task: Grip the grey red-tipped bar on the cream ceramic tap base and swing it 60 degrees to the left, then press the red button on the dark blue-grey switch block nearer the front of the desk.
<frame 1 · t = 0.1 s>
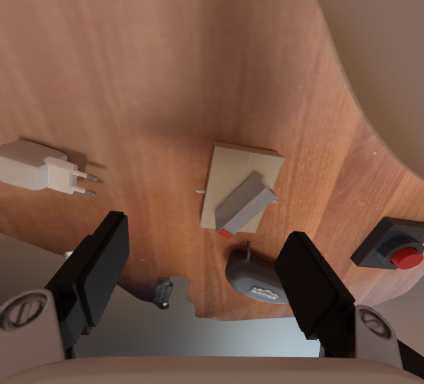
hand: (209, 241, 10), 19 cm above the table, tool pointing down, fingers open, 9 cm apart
tap base: (234, 187, 30), on the table
power adapter: (68, 163, 26), on the table
glasses case: (258, 262, 40), on the table
button: (406, 258, 34), point 4 cm above the table, slide at 0.1 cm
grey red-tipped bar: (241, 205, 25), point 6 cm above the table, hinge at -30.0°
switch block: (385, 241, 38), on the table
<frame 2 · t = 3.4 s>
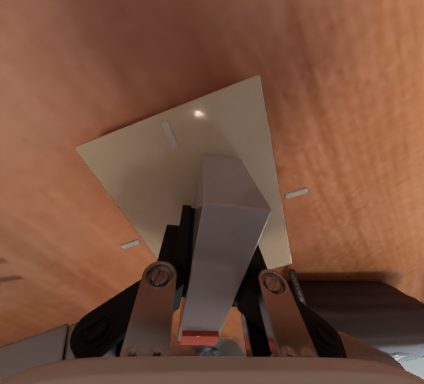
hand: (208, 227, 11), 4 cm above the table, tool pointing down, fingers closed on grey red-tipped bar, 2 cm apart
tap base: (207, 196, 14), on the table
glasses case: (329, 286, 22), on the table
grey red-tipped bar: (210, 249, 10), point 6 cm above the table, hinge at -29.4°, touching gripper
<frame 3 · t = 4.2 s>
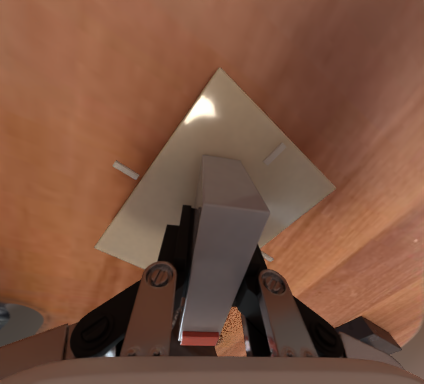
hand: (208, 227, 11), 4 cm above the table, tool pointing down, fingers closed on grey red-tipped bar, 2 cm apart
tap base: (207, 197, 15), on the table
glasses case: (182, 321, 24), on the table
grey red-tipped bar: (209, 250, 10), point 6 cm above the table, hinge at 29.3°, touching gripper
switch block: (342, 340, 30), on the table
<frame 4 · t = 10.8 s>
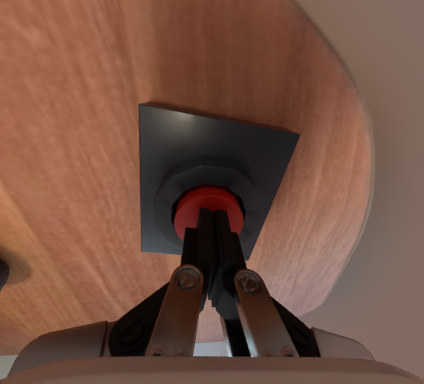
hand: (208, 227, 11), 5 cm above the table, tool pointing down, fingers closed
button: (208, 216, 12), point 4 cm above the table, slide at -0.5 cm, touching gripper
switch block: (207, 189, 15), on the table
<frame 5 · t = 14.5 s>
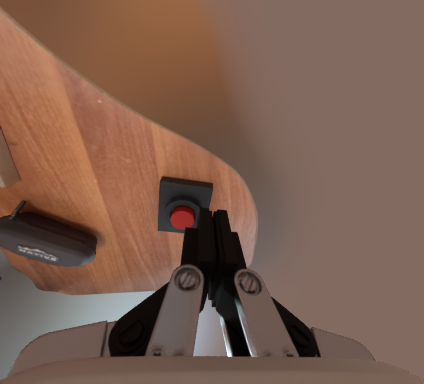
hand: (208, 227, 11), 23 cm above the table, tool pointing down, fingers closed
glasses case: (63, 227, 39), on the table
button: (182, 217, 34), point 4 cm above the table, slide at 0.1 cm
switch block: (184, 204, 38), on the table
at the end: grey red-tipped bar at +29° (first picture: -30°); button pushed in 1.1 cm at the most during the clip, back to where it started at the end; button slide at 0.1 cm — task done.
